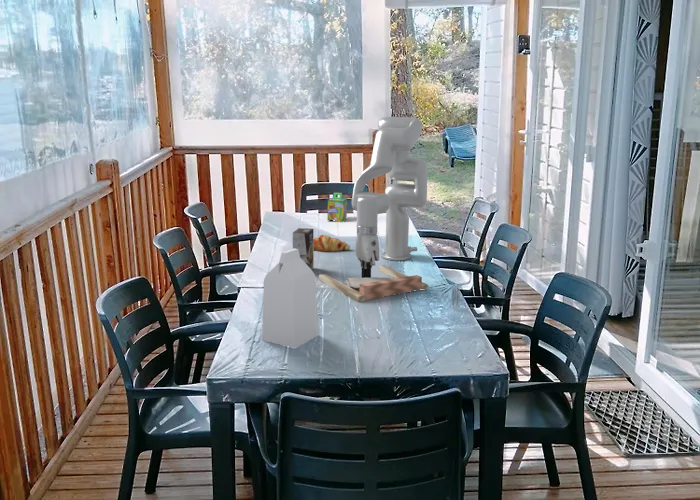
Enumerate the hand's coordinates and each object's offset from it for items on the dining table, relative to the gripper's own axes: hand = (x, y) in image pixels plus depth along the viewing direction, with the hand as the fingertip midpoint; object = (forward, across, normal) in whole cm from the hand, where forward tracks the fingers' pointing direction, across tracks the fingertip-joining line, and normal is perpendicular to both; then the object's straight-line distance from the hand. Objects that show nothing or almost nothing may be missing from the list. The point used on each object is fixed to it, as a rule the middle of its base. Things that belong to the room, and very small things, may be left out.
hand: (366, 277), depth 244 cm
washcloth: (+2, -7, +2) cm, 8 cm away
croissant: (+2, +50, -9) cm, 51 cm away
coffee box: (+2, +24, +14) cm, 28 cm away
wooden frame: (+1, -5, 0) cm, 5 cm away
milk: (+1, -38, +48) cm, 61 cm away
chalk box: (+2, +104, -45) cm, 113 cm away
